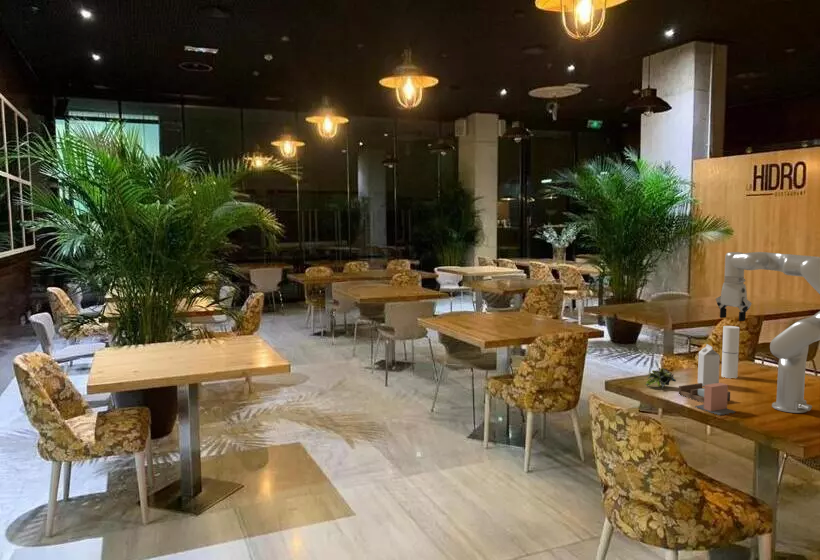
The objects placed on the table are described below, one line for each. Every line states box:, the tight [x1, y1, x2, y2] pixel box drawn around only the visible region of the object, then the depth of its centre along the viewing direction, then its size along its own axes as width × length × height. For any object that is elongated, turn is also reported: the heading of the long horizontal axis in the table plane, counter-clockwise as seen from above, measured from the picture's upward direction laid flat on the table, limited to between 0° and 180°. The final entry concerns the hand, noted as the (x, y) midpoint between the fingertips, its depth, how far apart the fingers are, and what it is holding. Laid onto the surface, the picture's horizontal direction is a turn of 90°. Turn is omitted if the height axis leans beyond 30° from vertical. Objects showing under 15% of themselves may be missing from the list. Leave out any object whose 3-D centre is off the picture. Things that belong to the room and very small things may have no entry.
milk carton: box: [697, 343, 721, 387], centre depth 292 cm, size 7×7×19 cm
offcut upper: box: [698, 387, 705, 397], centre depth 269 cm, size 6×8×2 cm
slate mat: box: [694, 404, 737, 416], centre depth 255 cm, size 12×9×1 cm
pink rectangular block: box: [703, 382, 729, 411], centre depth 254 cm, size 4×9×10 cm, turn 112°
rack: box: [678, 382, 731, 404], centre depth 272 cm, size 16×13×4 cm
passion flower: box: [645, 367, 677, 389], centre depth 289 cm, size 11×11×12 cm
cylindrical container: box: [720, 325, 741, 379], centre depth 307 cm, size 7×7×25 cm
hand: (732, 319), depth 272 cm, fingers open, 9 cm apart
